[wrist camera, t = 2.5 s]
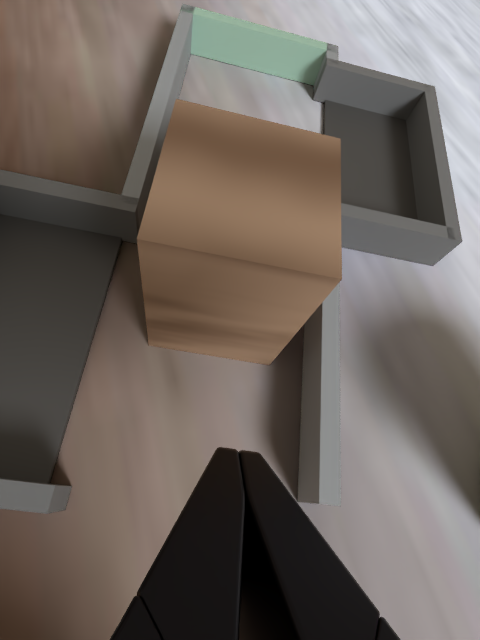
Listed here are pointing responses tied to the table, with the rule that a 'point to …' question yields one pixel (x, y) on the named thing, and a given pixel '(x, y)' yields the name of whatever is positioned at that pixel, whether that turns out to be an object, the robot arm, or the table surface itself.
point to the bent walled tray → (125, 220)
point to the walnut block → (238, 233)
